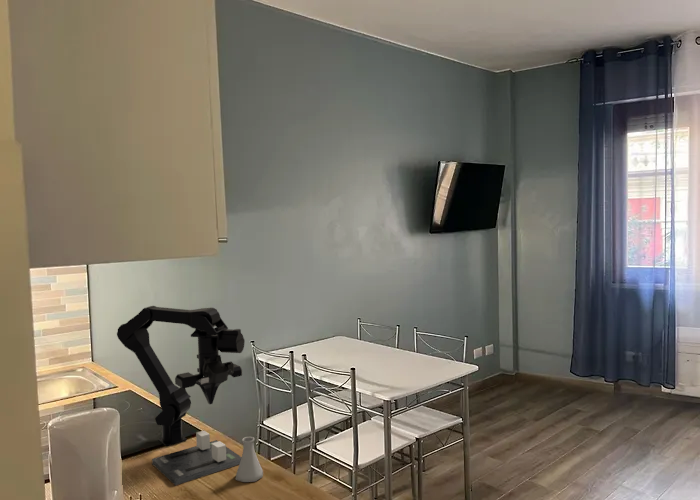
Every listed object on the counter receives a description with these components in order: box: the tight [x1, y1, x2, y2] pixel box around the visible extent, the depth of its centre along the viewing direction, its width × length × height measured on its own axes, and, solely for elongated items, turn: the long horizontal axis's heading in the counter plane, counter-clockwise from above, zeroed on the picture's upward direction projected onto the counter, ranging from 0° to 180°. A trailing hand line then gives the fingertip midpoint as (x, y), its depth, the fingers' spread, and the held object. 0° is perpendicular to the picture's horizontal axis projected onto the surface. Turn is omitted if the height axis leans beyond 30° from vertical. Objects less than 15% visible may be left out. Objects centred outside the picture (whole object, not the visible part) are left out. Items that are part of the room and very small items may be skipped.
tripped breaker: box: [195, 430, 211, 450], centre depth 162 cm, size 4×2×4 cm, turn 39°
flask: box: [235, 436, 264, 483], centre depth 147 cm, size 7×7×10 cm
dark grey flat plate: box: [151, 439, 242, 486], centre depth 156 cm, size 16×19×2 cm
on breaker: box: [212, 440, 227, 462], centre depth 154 cm, size 4×2×4 cm, turn 39°
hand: (210, 403), depth 168 cm, fingers closed
